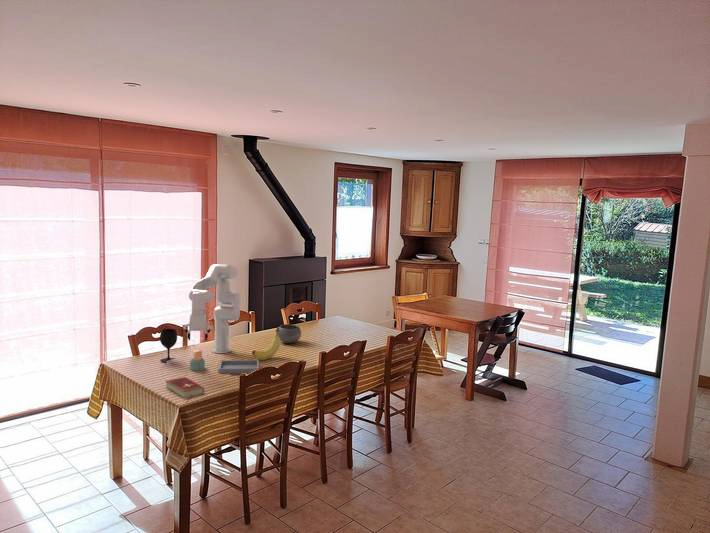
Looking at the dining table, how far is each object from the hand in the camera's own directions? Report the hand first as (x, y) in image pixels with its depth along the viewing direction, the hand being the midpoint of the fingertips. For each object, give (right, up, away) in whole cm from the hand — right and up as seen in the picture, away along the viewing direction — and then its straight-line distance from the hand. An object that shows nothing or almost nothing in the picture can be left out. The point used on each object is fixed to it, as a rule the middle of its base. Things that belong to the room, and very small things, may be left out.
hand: (197, 339), depth 326 cm
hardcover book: (+2, -24, -32) cm, 40 cm away
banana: (+36, -17, +33) cm, 52 cm away
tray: (+24, -20, +7) cm, 32 cm away
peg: (-1, -18, +3) cm, 18 cm away
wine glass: (-24, -16, +18) cm, 34 cm away
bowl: (+46, -13, +76) cm, 90 cm away
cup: (-1, -19, +3) cm, 19 cm away
